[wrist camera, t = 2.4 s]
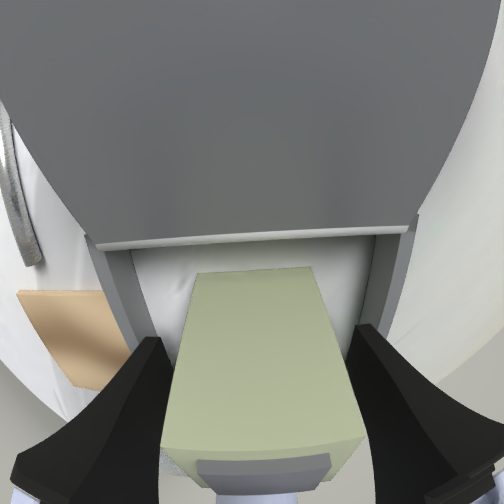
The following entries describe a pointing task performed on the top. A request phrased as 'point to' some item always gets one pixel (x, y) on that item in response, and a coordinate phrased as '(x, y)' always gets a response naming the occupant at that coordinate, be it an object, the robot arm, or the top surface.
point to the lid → (241, 111)
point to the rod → (15, 195)
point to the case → (374, 308)
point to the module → (260, 386)
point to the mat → (78, 334)
